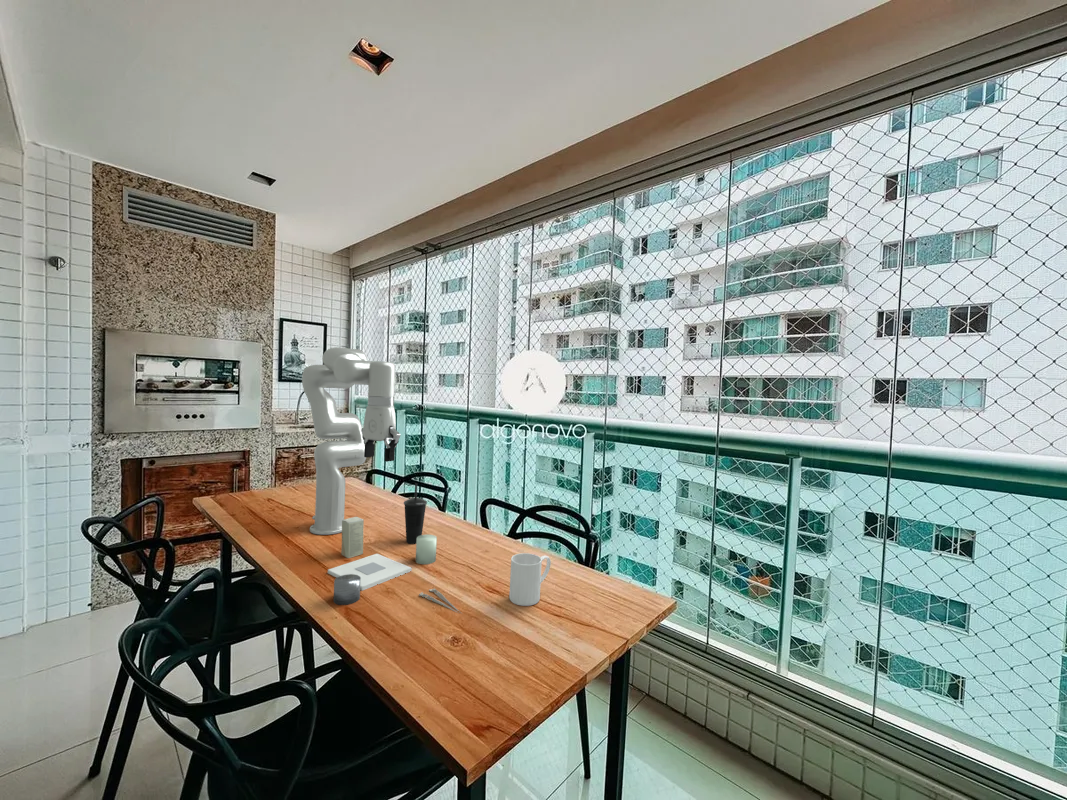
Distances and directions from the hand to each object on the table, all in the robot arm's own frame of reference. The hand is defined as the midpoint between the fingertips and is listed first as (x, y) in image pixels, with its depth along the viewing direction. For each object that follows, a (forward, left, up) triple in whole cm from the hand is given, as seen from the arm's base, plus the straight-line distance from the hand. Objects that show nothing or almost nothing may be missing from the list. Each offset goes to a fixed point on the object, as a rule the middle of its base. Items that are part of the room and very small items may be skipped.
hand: (379, 458), depth 135 cm
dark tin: (+16, -20, -31) cm, 40 cm away
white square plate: (+7, -7, -31) cm, 32 cm away
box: (-8, -3, -31) cm, 32 cm away
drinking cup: (-3, +17, -31) cm, 35 cm away
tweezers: (+37, -6, -31) cm, 49 cm away
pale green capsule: (+12, +9, -31) cm, 34 cm away
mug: (+50, +11, -31) cm, 60 cm away
